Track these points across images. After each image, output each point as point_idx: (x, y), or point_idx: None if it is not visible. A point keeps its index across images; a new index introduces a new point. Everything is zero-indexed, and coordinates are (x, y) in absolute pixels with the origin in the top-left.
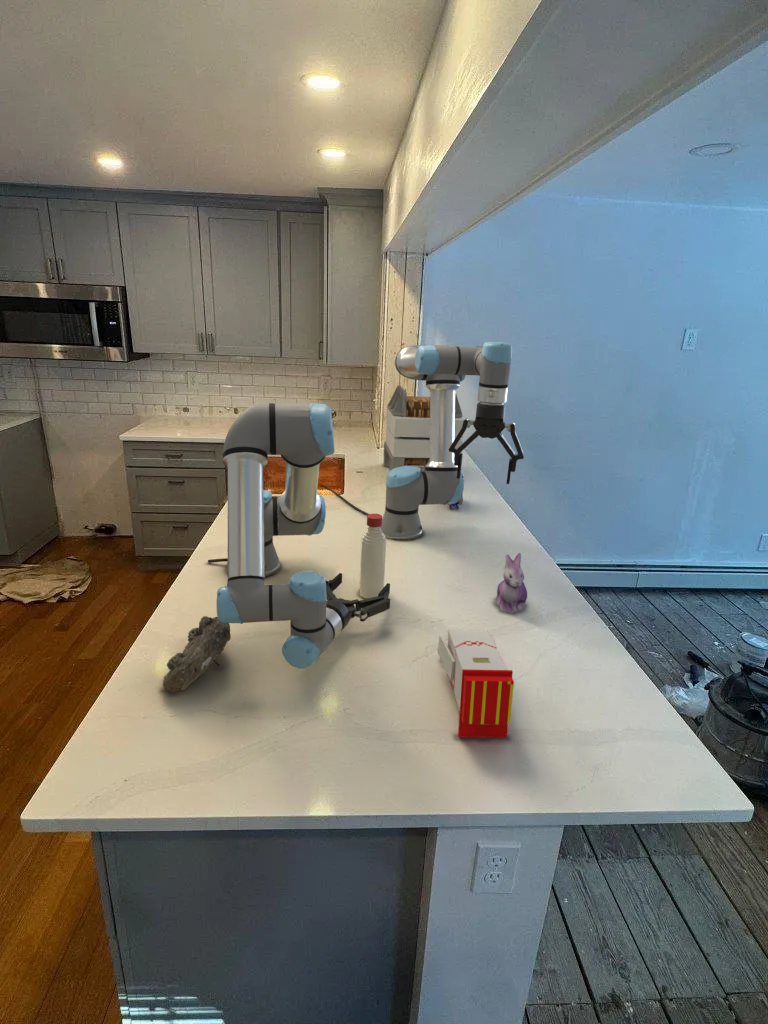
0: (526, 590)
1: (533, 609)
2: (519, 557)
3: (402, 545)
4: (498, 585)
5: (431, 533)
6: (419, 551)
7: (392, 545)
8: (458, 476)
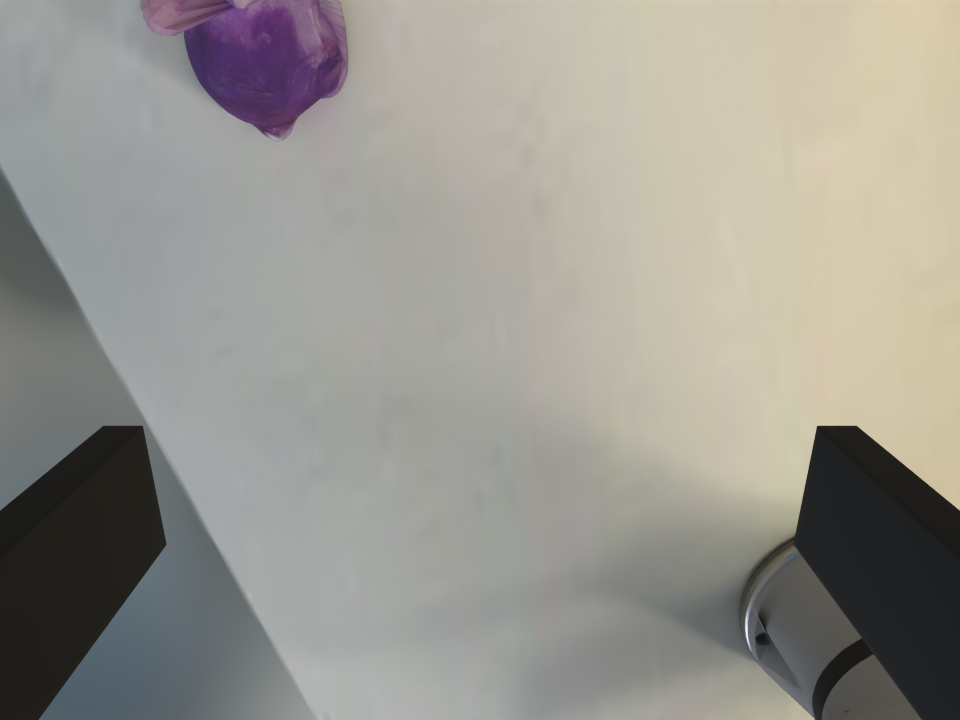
0: (184, 36)
1: None
2: None
3: None
4: (330, 51)
5: (696, 631)
6: (738, 446)
7: None
8: (848, 439)
